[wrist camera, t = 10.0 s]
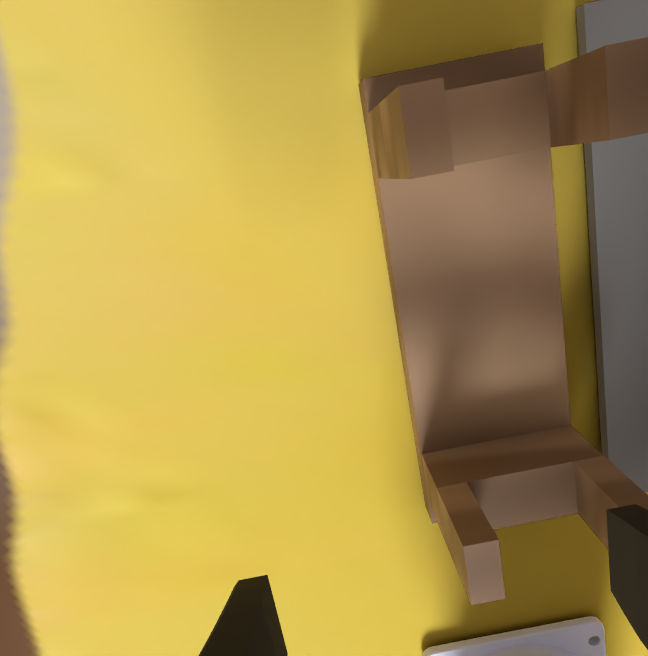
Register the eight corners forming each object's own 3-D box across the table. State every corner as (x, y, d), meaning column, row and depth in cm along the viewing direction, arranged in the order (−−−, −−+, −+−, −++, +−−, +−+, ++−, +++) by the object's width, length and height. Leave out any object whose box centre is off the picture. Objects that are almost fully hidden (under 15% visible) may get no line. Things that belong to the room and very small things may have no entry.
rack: (561, 478, 22) (664, 596, 16) (425, 505, 22) (474, 632, 16) (526, 51, 18) (649, -15, 12) (358, 85, 18) (391, 36, 12)
